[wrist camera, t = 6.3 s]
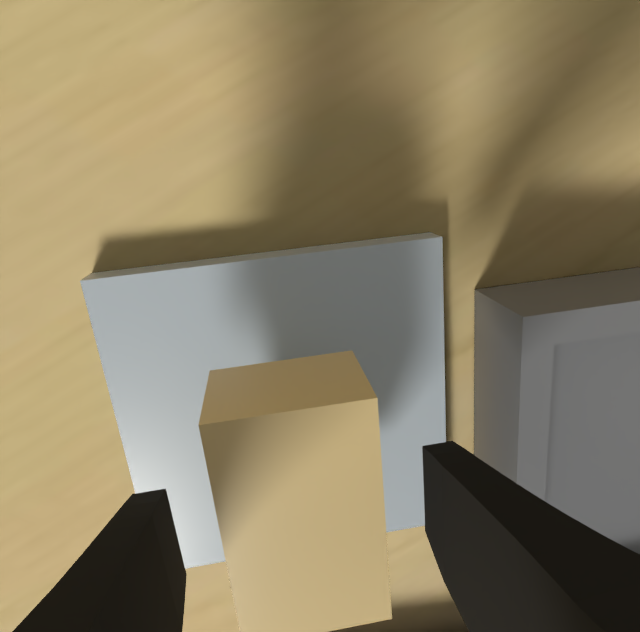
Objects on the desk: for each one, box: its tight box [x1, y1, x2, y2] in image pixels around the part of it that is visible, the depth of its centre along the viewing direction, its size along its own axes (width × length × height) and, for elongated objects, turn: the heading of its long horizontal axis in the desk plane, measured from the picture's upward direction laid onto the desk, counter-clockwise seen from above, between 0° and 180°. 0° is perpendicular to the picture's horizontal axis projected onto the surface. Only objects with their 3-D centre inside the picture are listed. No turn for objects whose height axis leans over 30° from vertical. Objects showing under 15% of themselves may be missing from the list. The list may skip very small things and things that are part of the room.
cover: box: [80, 232, 446, 632], centre depth 11 cm, size 9×9×5 cm
